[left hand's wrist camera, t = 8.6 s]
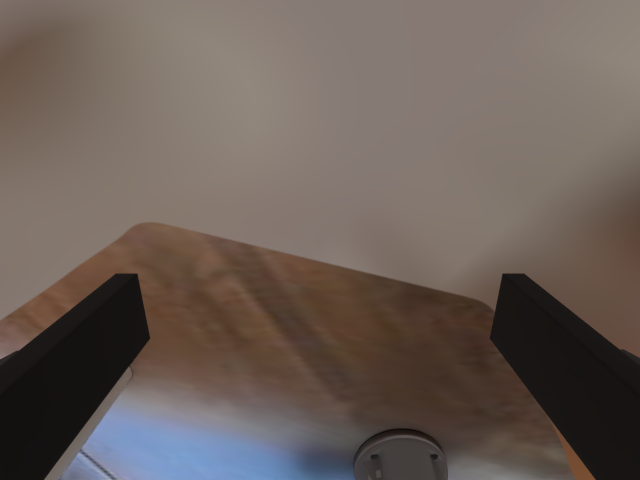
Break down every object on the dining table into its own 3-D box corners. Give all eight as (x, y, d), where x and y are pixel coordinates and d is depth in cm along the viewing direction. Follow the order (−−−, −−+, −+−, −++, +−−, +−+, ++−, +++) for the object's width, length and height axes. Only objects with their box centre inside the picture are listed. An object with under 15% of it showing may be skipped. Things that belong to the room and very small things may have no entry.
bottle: (93, 369, 53) (-62, 545, 32) (114, 353, 52) (-31, 523, 30) (118, 389, 54) (-15, 571, 33) (138, 373, 53) (16, 550, 32)
